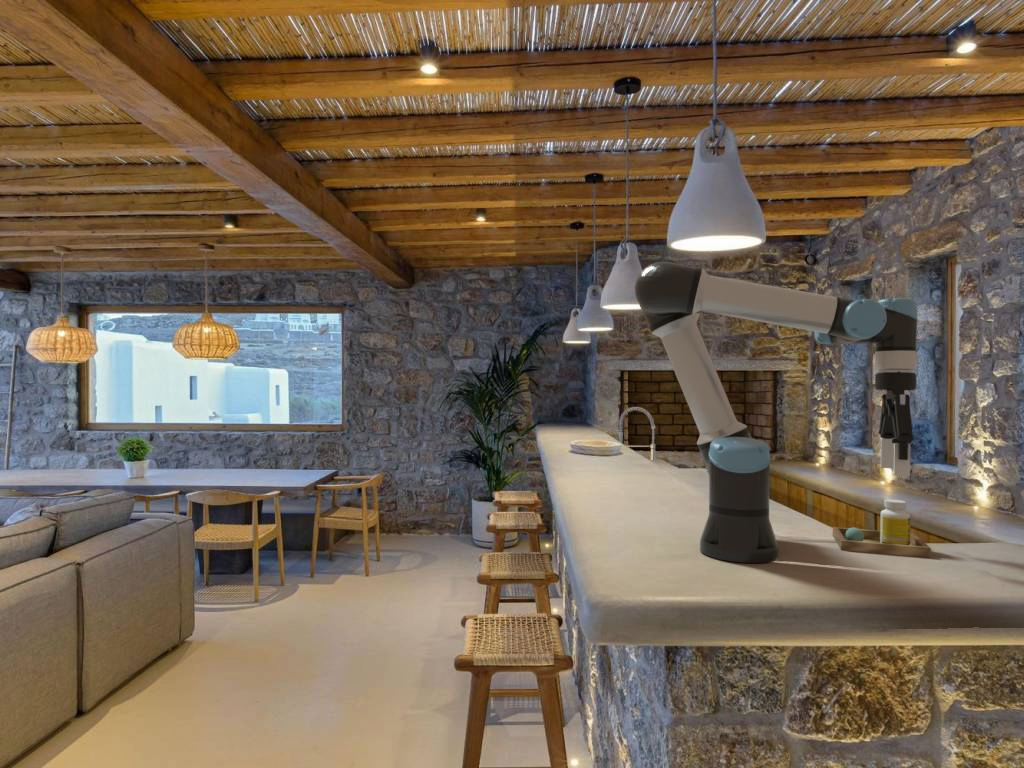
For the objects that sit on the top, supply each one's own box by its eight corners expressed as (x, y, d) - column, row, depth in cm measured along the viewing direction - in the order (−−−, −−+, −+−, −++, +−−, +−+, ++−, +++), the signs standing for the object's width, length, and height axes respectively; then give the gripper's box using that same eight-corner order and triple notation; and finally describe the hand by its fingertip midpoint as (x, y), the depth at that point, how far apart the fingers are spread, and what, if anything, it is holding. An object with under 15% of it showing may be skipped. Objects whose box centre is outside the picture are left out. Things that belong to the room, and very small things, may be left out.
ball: (846, 544, 137) (846, 528, 137) (844, 541, 140) (844, 525, 140) (865, 546, 136) (865, 529, 136) (862, 542, 139) (862, 526, 139)
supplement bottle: (914, 551, 132) (914, 503, 132) (885, 549, 133) (885, 502, 133) (903, 544, 137) (903, 499, 137) (876, 543, 138) (876, 498, 139)
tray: (841, 552, 132) (841, 540, 132) (832, 538, 146) (832, 527, 146) (930, 560, 127) (930, 548, 127) (913, 544, 140) (913, 533, 140)
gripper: (932, 370, 122) (930, 480, 122) (902, 373, 146) (901, 466, 146) (887, 370, 125) (886, 478, 125) (865, 373, 148) (864, 464, 148)
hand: (894, 471), depth 135 cm, fingers open, 13 cm apart
